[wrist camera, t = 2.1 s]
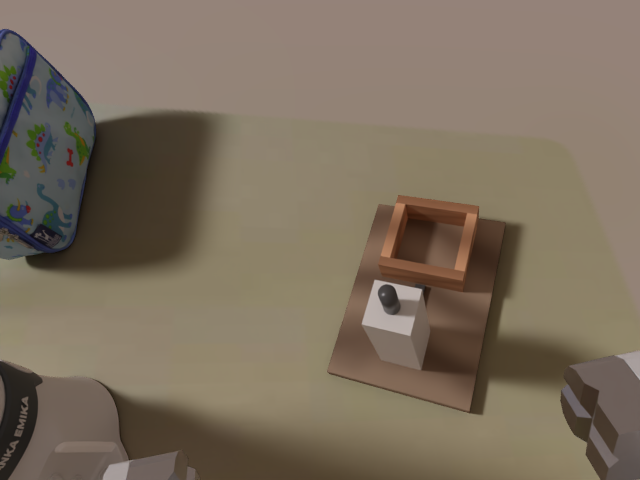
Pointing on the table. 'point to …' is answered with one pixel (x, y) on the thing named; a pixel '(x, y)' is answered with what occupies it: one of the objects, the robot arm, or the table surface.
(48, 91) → the lunch box
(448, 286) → the board
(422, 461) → the table surface
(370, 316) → the connector plug
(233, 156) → the table surface
